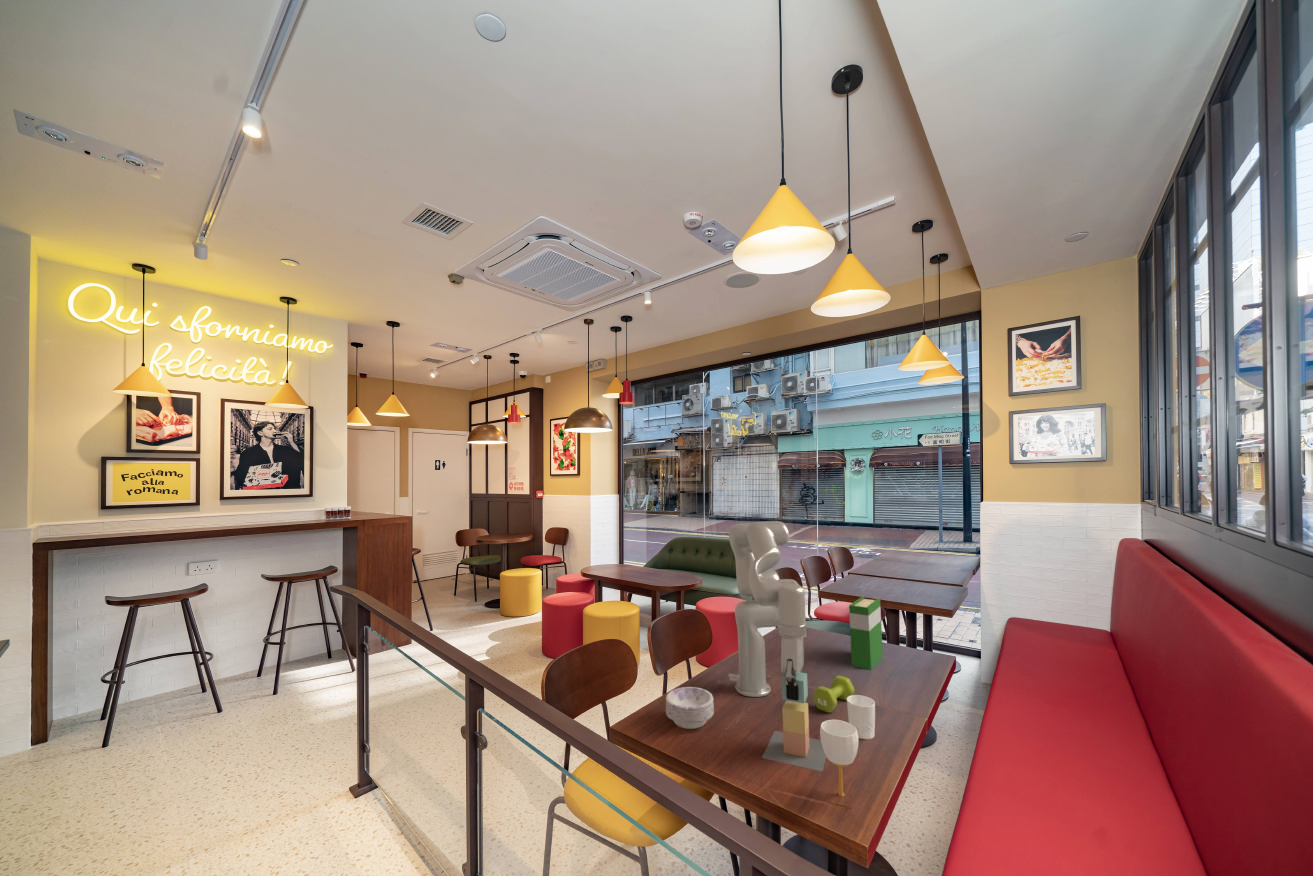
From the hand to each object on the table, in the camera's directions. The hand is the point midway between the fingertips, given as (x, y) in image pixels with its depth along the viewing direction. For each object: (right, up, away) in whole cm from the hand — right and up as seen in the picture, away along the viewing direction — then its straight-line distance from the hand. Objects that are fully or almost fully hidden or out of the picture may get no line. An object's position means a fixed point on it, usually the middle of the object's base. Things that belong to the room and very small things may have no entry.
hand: (794, 693), depth 143 cm
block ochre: (0, -9, -1) cm, 9 cm away
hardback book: (+48, -20, +66) cm, 84 cm away
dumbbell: (+21, -18, +28) cm, 39 cm away
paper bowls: (-29, -18, +17) cm, 38 cm away
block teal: (0, -1, 0) cm, 1 cm away
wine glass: (+6, -14, -21) cm, 26 cm away
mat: (0, -16, -1) cm, 16 cm away
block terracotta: (0, -15, -1) cm, 15 cm away
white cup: (+22, -16, +7) cm, 28 cm away
